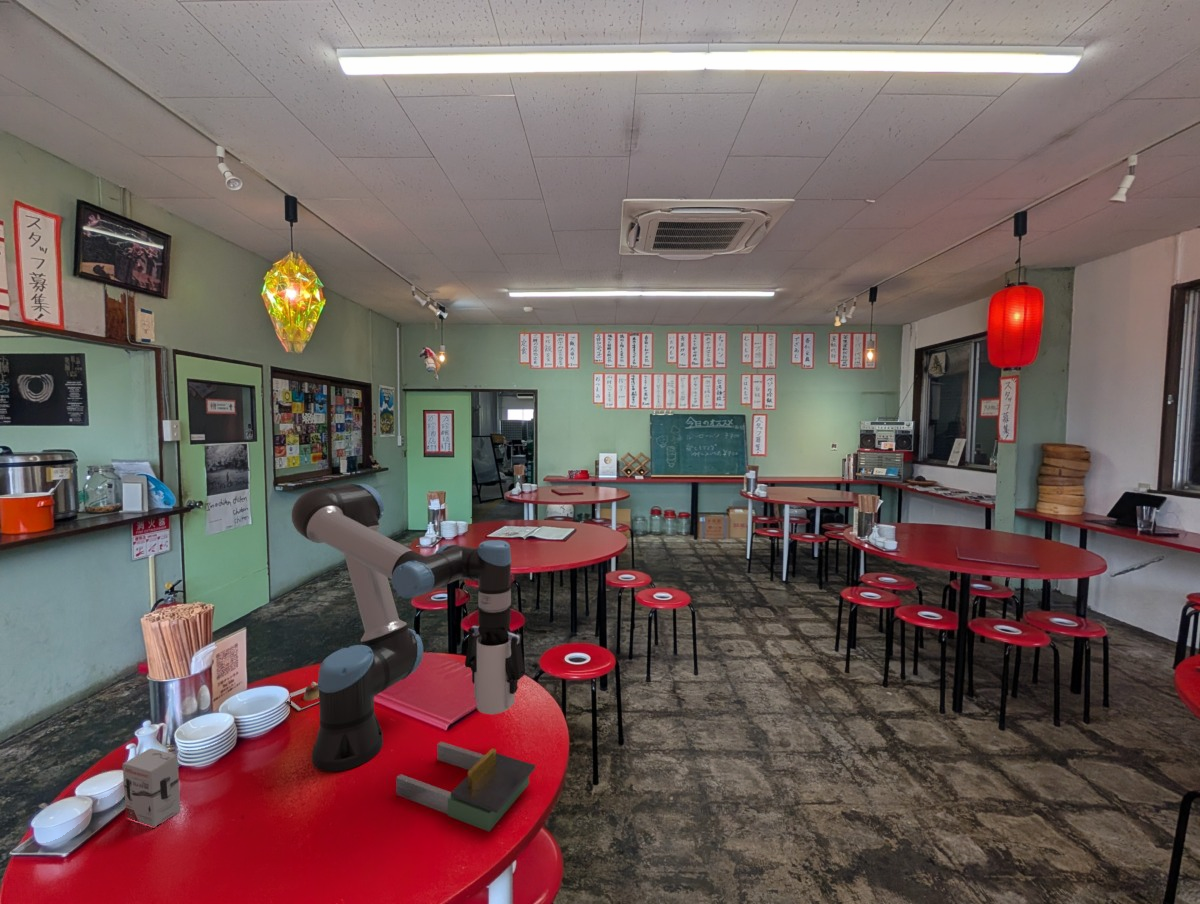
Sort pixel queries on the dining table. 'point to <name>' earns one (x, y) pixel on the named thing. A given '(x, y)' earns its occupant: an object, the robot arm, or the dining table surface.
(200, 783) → the dining table surface
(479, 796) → the cover
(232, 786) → the dining table surface
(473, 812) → the green rectangular box
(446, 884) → the dining table surface
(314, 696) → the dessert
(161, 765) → the ink box
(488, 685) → the cup
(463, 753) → the bracket
